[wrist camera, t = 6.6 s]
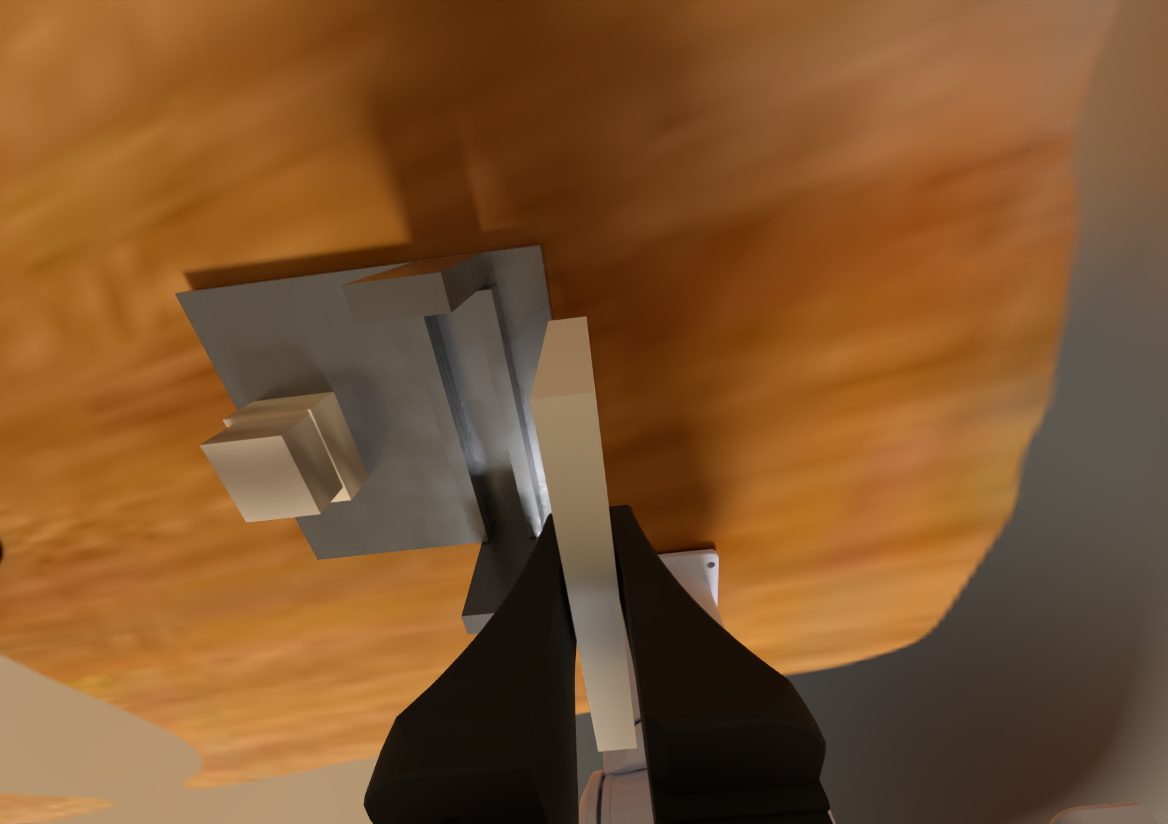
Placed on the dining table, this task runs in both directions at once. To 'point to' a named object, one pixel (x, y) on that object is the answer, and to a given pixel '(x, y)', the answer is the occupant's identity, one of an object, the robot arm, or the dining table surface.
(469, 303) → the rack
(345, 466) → the block
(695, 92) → the dining table surface
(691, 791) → the robot arm
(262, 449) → the offcut top
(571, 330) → the cream rectangular block
